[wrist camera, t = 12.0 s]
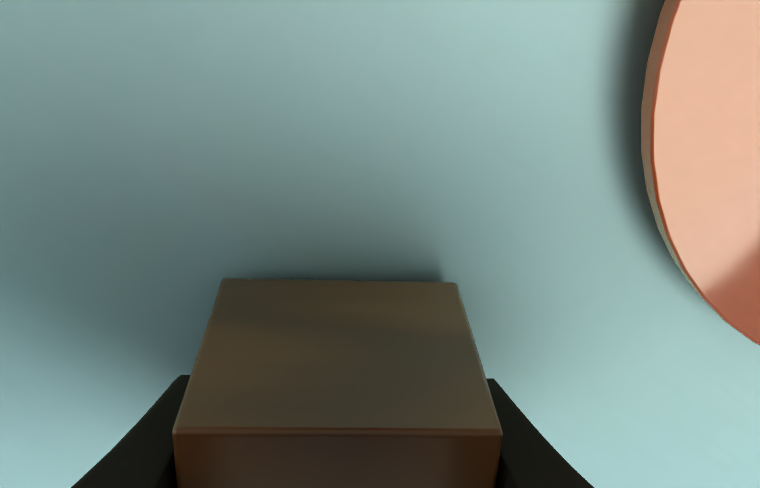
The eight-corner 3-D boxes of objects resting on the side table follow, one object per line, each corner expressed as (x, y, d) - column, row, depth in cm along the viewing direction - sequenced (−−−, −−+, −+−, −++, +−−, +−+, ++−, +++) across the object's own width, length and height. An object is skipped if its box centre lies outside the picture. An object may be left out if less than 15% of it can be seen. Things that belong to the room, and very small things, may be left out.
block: (230, 462, 15) (191, 659, 11) (221, 276, 13) (170, 429, 9) (439, 463, 15) (472, 654, 11) (457, 280, 14) (505, 432, 10)
